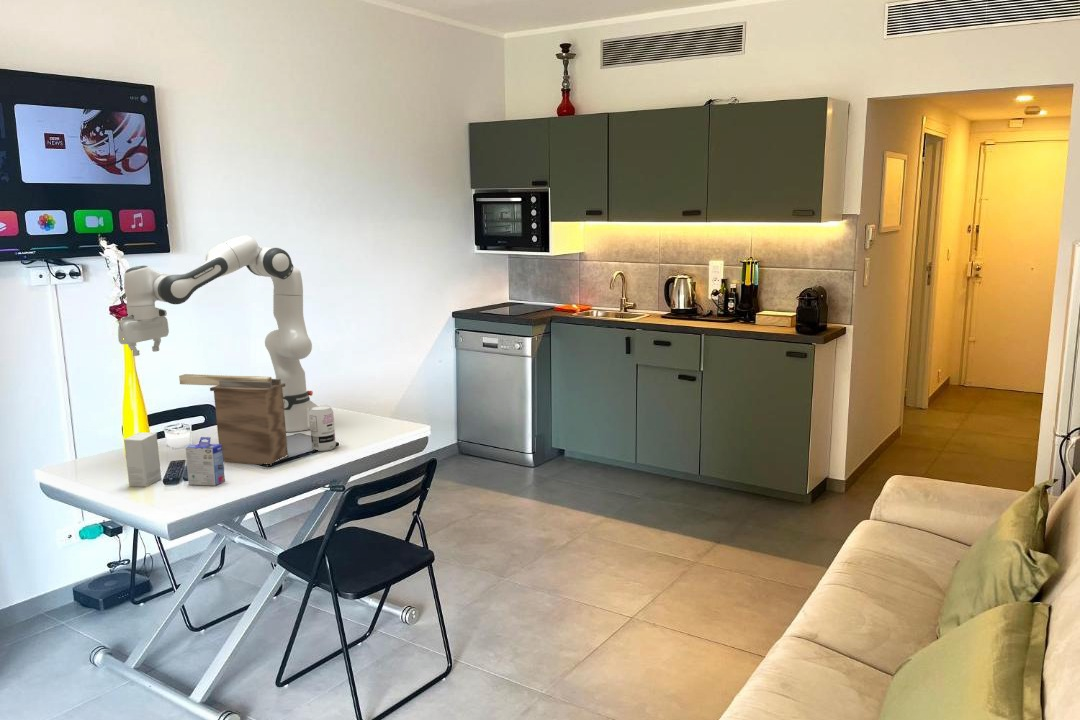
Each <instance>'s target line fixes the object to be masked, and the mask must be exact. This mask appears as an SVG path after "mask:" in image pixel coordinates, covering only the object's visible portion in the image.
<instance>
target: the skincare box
mask: <svg viewBox="0 0 1080 720" xmlns="http://www.w3.org/2000/svg"><path fill="white" fill-rule="evenodd" d="M123 441H124V451H125V460H126V468H127V470H126V471H127V478H128V485H129V487H134V488H135V487H140V488H142V487H143V488H147V487H149V486H150V485H153V484H155V483H156V482H159V481H161V480H162V471H161V463H160V453H159V445H158V444H159V443H158V433H157V432H142V431H139V432H138V433H135V434H134V435H131V436H129V437H127V438H125V439H123Z"/></svg>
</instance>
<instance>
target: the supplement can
mask: <svg viewBox="0 0 1080 720" xmlns="http://www.w3.org/2000/svg"><path fill="white" fill-rule="evenodd" d="M309 415H310V428H311V429H310V439H311V448H312V449H313V450H314V449H316V450H318V451H317V452H327V451H331V450H333V449H334V448H336V445H337V442H336V432H335V430H336V429H335V417H334V410H333V408H332V406H331V405H317V406H316V407H312V408H311V410H310V413H309Z"/></svg>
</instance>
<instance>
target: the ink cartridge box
mask: <svg viewBox="0 0 1080 720" xmlns="http://www.w3.org/2000/svg"><path fill="white" fill-rule="evenodd" d="M211 438H212V437H209V436H207V437H206V436H201V437H200V438H199V442H198V443H194V444H191V445H188V446H186V447H185V457H186V468H187V469H186V470H187V482H188V485H191V486H193V485H197V486H217V485H219V484H221V483H224V482H226V476H225V467H224V462H223V453H222V444H219V443H211ZM203 440H204V441H203ZM205 440H206V441H205Z"/></svg>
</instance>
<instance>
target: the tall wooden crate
mask: <svg viewBox="0 0 1080 720" xmlns="http://www.w3.org/2000/svg"><path fill="white" fill-rule="evenodd" d="M219 384H220V386H212V387H209V391H210V392H213V398H214V407H215V418H216V429H217V438H218V439H217V440H218V444H222V453H223V463H229V464H230V463H231V464H246V465H248V464H249V465H262V464H263V463H265V464H266V463H267V464H270V465H269V466H273V465H272V463H274V462H275V461H276V460H278V459H280V458H282V457H285V456H286V455H288V456H289V452H288V440H287V432H286V427H285V415H284V403H283V391H282V387H285V383H281V379H276V378H272V382H259V381H227V380H220V381H219Z"/></svg>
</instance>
